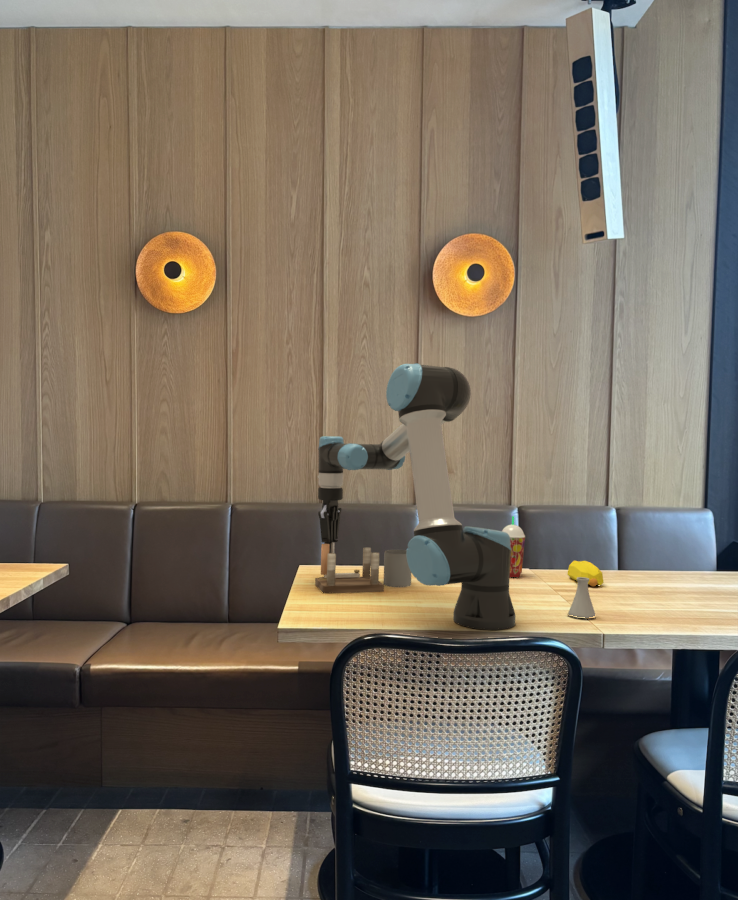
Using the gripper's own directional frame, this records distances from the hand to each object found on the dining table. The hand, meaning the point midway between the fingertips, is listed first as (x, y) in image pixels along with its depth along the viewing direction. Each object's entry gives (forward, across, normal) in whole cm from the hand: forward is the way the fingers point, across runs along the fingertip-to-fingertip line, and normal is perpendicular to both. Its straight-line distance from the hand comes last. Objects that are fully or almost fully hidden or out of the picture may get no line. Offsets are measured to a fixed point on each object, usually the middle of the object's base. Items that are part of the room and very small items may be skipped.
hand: (329, 563), depth 212 cm
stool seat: (+6, +4, +8) cm, 11 cm away
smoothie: (+7, -37, +50) cm, 63 cm away
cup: (+6, -7, +20) cm, 22 cm away
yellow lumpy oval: (+7, -39, +73) cm, 83 cm away
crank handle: (+3, +2, +4) cm, 6 cm away
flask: (+6, +8, +74) cm, 75 cm away
